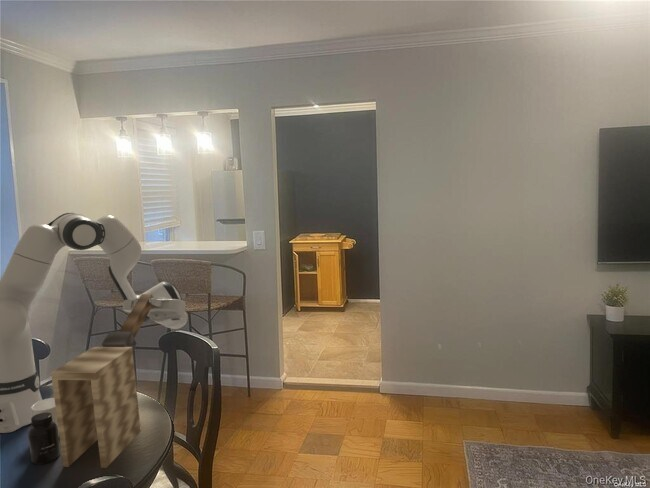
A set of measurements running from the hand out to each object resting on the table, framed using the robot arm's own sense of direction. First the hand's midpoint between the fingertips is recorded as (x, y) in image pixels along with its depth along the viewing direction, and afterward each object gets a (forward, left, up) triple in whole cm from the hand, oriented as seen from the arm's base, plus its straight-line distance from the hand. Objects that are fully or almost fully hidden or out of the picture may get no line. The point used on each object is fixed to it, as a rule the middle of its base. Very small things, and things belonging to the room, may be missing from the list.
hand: (143, 300), depth 155 cm
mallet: (-2, -6, -7) cm, 9 cm away
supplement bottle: (-24, -27, -35) cm, 50 cm away
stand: (-10, -27, -34) cm, 45 cm away
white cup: (-27, -15, -35) cm, 46 cm away
